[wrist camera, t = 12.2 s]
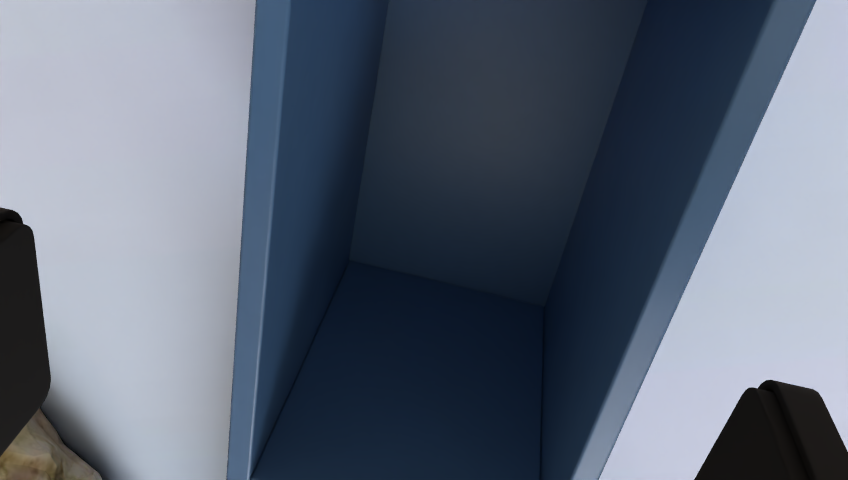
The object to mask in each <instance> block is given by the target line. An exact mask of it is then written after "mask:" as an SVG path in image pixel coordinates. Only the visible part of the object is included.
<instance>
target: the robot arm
mask: <svg viewBox="0 0 848 480" xmlns="http://www.w3.org/2000/svg"><path fill="white" fill-rule="evenodd" d="M50 382H51V375H50V367H49V358H48V350H47V342H46V333H45V325H44V317H43V308H42V300H41V292H40V283H39V275H38V267H37V258H36V250H35V242H34V235H33V231H32V229H31V228H30V227H29V226H27V225H24V224H23V221H22V218H21V217H20V215H19V214H18V213H17V212H15V211H13V210H9V209H5V208H0V457H1V455H2V454H3V453H4V452H5V450H6V449H7V448H8V447H9V445H10V444H11V443H12V442H13V440H14V439H15V438H16V437H17V435H18V434H19V433H20V432H21V430H22V429H23V428H24V427H25V425H26V424H27V423H28V422H29V420H30V419H31V418H32V417H33V415H34V414H35V413H36V412H37V410H38V409H39V408H40V407H41V405H42V404H43V402H44V401H45V398H46V396H47V394H48V391H49V388H50ZM694 480H848V452H847V449H846V447H845V445H844V443H843V441H842V439H841V437H840V435H839V433H838V431H837V428H836V426H835V424H834V422H833V420H832V418H831V416H830V414H829V412H828V410H827V408H826V405H825V403H824V401H823V399H822V397H821V396H820V395H819V393H818V392H817V391H815V390H813V389H809V388H805V387H800V386H796V385H791V384H787V383H782V382H778V381H773V380H766V381H765V382H763V383H762V384H761V385H760V386H759V387H758V389H757V388H748V389H747V390H745V392H744V393H743V394H742V396H741V398H740V400H739V401H738V403H737V405H736V407H735V408H734V410H733V412H732V414H731V416H730V417H729V419H728V421H727V423H726V424H725V426H724V428H723V430H722V432H721V433H720V435H719V437H718V439H717V440H716V442H715V444H714V446H713V448H712V449H711V451H710V453H709V455H708V456H707V458H706V460H705V462H704V463H703V465H702V467H701V469H700V471H699V472H698V474H697V476H696V478H695V479H694Z"/></svg>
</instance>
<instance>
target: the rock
mask: <svg viewBox="0 0 848 480" xmlns="http://www.w3.org/2000/svg"><path fill="white" fill-rule="evenodd" d="M0 480H102V479H101V476H100V474H99V473H98V472H97V471H96V470H94V469H93V468H92V467H91V466H90V465H88V464H87V463H86V462H85V461H84V460H82V459H81V458H80V457H79V456H78V455H76V454H75V453H74V452H73V451H71V450H70V449H69V448H68V447H66V446H65V445H64V444H63V442H62V440H61V438H60V437H59V435H58V433H57V431H56V430H55V429H54V427H53V426H52V425H51V423H50V422H49V421H48V420H47V418H46V417H45V416H44V414H43V413H42V411H41V409H40V408H39V409H38V410H37V412H36V413H35V414H34V415H33V417H32V418H31V419H30V420H29V422H28V423H27V424H26V425H25V427H24V428H23V429H22V430H21V432H20V433H19V434H18V435H17V437H16V438H15V439H14V440H13V442H12V443H11V444H10V445H9V447H8V448H7V449H6V450H5V452H4V453H3V454H2V455H1V457H0Z"/></svg>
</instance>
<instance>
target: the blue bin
mask: <svg viewBox="0 0 848 480" xmlns="http://www.w3.org/2000/svg"><path fill="white" fill-rule="evenodd" d="M815 2H816V0H256V7H255V24H254V40H253V56H252V73H251V89H250V105H249V122H248V138H247V154H246V171H245V187H244V203H243V219H242V236H241V252H240V268H239V285H238V301H237V317H236V334H235V350H234V366H233V383H232V399H231V415H230V431H229V448H228V464H227V480H599V478H600V475H601V473H602V471H603V469H604V467H605V464H606V462H607V460H608V458H609V456H610V453H611V451H612V449H613V447H614V445H615V442H616V440H617V438H618V436H619V433H620V431H621V429H622V427H623V425H624V422H625V420H626V418H627V416H628V414H629V411H630V409H631V407H632V405H633V403H634V400H635V398H636V396H637V394H638V392H639V389H640V387H641V385H642V383H643V381H644V378H645V376H646V374H647V372H648V370H649V367H650V365H651V363H652V361H653V359H654V356H655V354H656V352H657V350H658V348H659V345H660V343H661V341H662V339H663V337H664V334H665V332H666V330H667V328H668V326H669V323H670V321H671V319H672V317H673V315H674V312H675V310H676V308H677V306H678V304H679V301H680V299H681V297H682V295H683V293H684V290H685V288H686V286H687V284H688V282H689V279H690V277H691V275H692V273H693V271H694V268H695V266H696V264H697V262H698V260H699V257H700V255H701V253H702V251H703V249H704V246H705V244H706V242H707V240H708V238H709V235H710V233H711V231H712V229H713V227H714V224H715V222H716V220H717V218H718V216H719V213H720V211H721V209H722V207H723V205H724V202H725V200H726V198H727V196H728V194H729V191H730V189H731V187H732V185H733V183H734V180H735V178H736V176H737V174H738V172H739V169H740V167H741V165H742V163H743V161H744V158H745V156H746V154H747V152H748V150H749V147H750V145H751V143H752V141H753V139H754V136H755V134H756V132H757V130H758V128H759V125H760V123H761V121H762V119H763V117H764V114H765V112H766V110H767V108H768V106H769V103H770V101H771V99H772V97H773V95H774V92H775V90H776V88H777V86H778V84H779V81H780V79H781V77H782V75H783V73H784V70H785V68H786V66H787V64H788V62H789V59H790V57H791V55H792V53H793V51H794V48H795V46H796V44H797V42H798V40H799V37H800V35H801V33H802V31H803V29H804V26H805V24H806V22H807V20H808V18H809V15H810V13H811V11H812V9H813V7H814V4H815Z"/></svg>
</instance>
